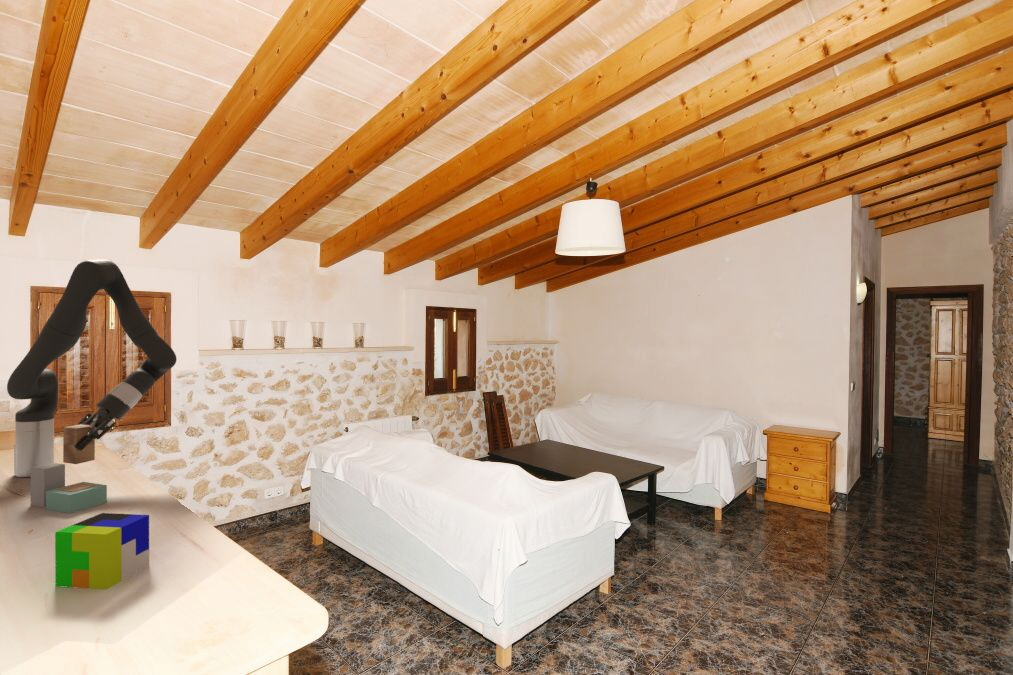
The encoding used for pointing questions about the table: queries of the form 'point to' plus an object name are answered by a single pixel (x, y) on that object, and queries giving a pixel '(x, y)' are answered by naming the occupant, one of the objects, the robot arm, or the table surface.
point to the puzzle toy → (101, 550)
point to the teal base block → (76, 497)
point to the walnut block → (71, 438)
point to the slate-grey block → (45, 481)
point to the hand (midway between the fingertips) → (72, 447)
